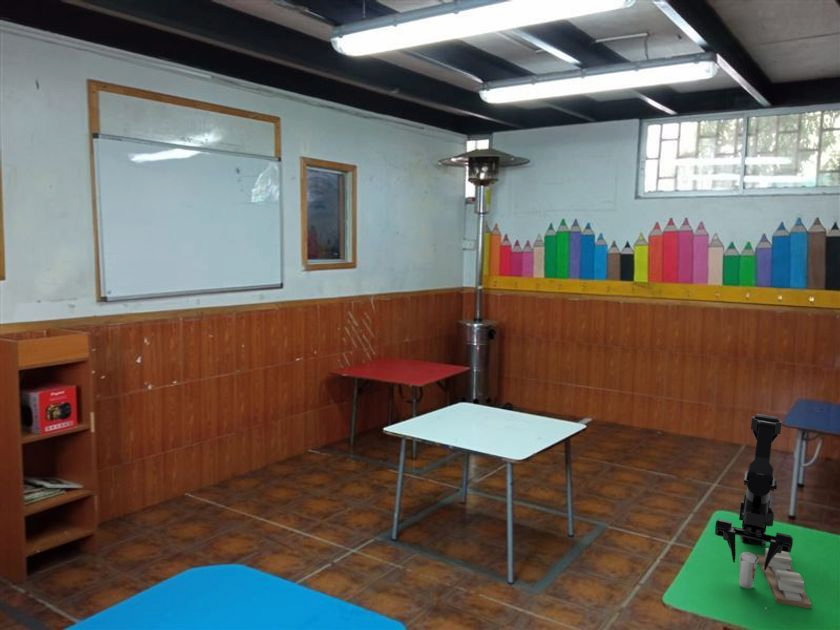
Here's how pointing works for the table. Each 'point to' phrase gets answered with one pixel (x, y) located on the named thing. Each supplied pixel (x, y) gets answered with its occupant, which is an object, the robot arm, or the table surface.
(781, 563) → the wooden board with pads
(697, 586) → the table surface
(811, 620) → the table surface
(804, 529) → the table surface
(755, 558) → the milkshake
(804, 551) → the table surface
